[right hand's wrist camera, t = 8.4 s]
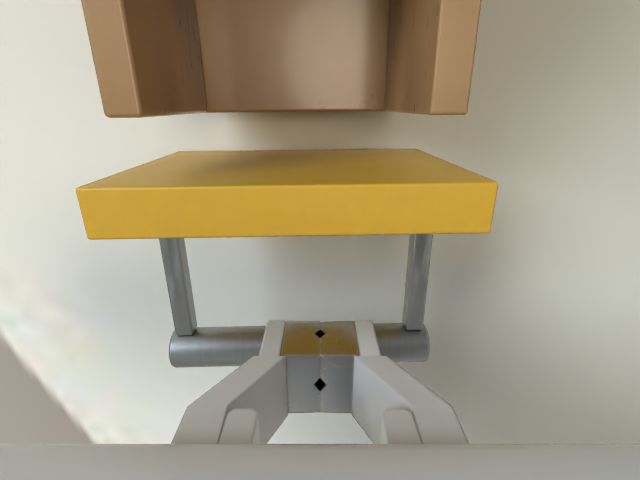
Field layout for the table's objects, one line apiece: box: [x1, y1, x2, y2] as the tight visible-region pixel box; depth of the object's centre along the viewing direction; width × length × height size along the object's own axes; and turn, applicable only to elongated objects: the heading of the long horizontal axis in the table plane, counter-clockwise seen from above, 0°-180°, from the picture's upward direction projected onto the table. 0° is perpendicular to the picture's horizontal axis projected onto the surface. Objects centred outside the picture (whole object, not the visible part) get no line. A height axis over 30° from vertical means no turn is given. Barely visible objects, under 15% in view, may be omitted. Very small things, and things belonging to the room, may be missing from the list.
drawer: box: [76, 0, 498, 367], centre depth 9 cm, size 22×9×6 cm, turn 0°
